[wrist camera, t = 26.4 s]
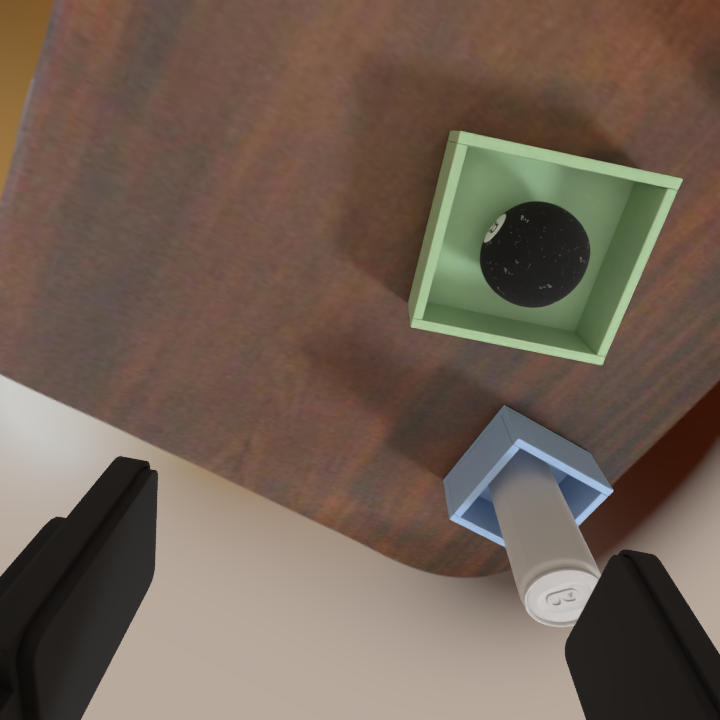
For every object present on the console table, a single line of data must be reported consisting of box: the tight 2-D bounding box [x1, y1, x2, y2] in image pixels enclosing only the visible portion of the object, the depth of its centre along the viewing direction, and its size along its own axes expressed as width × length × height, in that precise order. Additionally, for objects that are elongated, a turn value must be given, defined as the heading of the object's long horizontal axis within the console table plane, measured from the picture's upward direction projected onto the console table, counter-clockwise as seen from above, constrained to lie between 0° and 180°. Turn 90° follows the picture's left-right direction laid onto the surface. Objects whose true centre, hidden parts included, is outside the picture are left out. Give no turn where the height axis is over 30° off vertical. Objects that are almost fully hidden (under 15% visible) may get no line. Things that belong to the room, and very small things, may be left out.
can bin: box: [443, 405, 613, 547], centre depth 39 cm, size 8×8×5 cm
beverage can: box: [488, 450, 601, 627], centre depth 35 cm, size 5×5×12 cm
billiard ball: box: [480, 201, 590, 308], centre depth 30 cm, size 6×6×6 cm
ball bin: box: [408, 131, 683, 365], centre depth 31 cm, size 11×12×5 cm
